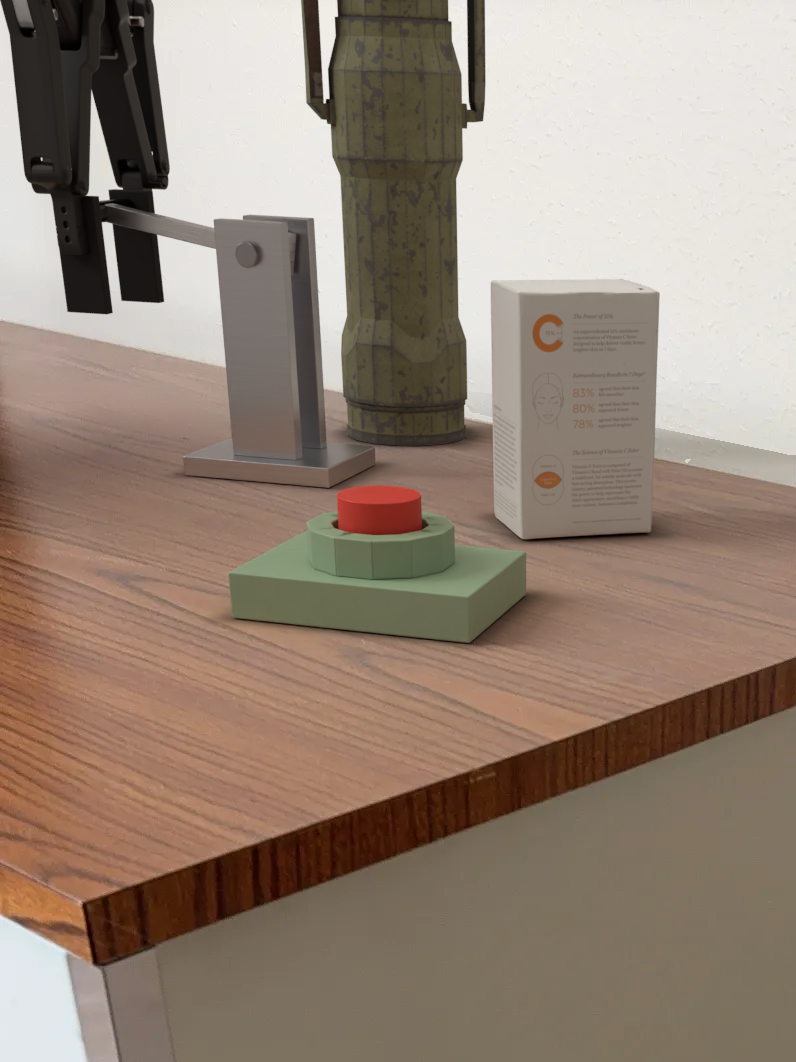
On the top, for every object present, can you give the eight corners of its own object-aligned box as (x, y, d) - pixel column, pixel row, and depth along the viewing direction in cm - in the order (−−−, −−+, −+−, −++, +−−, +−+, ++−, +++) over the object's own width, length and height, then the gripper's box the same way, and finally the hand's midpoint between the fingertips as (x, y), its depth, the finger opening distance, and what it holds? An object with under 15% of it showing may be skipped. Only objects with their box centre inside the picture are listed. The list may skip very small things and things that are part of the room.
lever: (69, 233, 101) (70, 190, 100) (118, 227, 106) (119, 185, 105) (265, 281, 100) (268, 238, 98) (305, 272, 105) (309, 231, 103)
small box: (618, 510, 101) (625, 277, 94) (653, 534, 96) (663, 290, 89) (490, 516, 99) (488, 277, 92) (519, 541, 93) (519, 290, 87)
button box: (231, 618, 79) (223, 532, 77) (307, 572, 86) (302, 494, 84) (469, 643, 76) (468, 556, 74) (526, 594, 84) (526, 514, 82)
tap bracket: (184, 475, 106) (158, 218, 98) (238, 452, 113) (218, 210, 105) (329, 488, 104) (314, 227, 96) (376, 464, 111) (365, 218, 103)
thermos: (312, 426, 122) (277, -157, 104) (464, 420, 126) (456, -142, 108) (341, 449, 115) (309, -172, 97) (502, 442, 119) (499, -156, 101)
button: (325, 537, 78) (323, 499, 77) (357, 519, 82) (355, 482, 81) (404, 544, 77) (403, 506, 76) (434, 526, 81) (432, 489, 80)
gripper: (32, -157, 85) (94, 327, 97) (201, -117, 101) (236, 295, 113) (-95, -157, 87) (-20, 320, 98) (91, -117, 103) (136, 289, 114)
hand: (117, 306), depth 106 cm, fingers closed on lever, 6 cm apart
